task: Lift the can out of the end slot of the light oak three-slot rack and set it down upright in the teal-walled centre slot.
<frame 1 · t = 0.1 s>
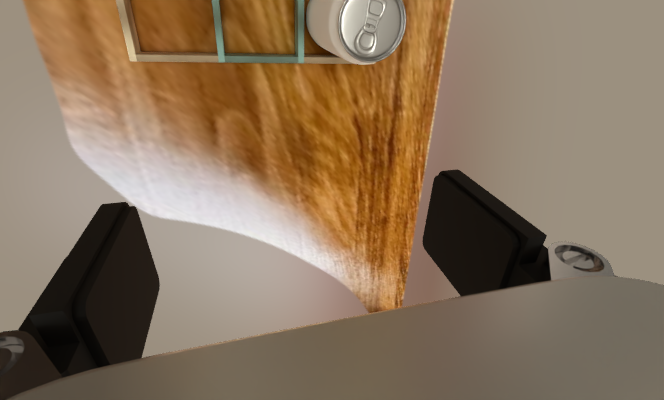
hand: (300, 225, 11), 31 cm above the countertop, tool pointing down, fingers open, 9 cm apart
can: (334, 17, 37), resting in slot rack
slot rack: (258, 14, 35), on the countertop
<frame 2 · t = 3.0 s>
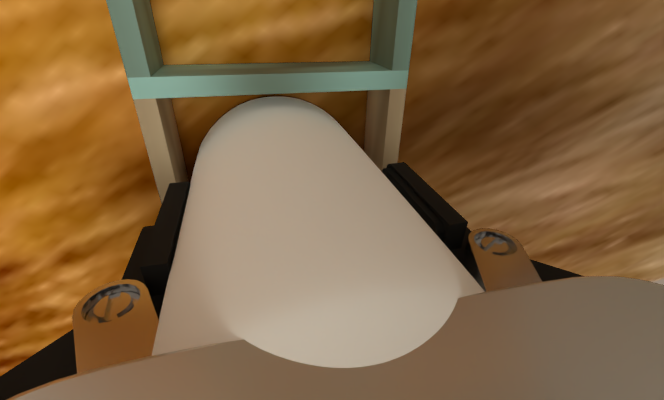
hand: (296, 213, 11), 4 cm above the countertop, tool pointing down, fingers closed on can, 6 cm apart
can: (277, 168, 15), resting in slot rack, touching gripper
when the fingers open (5 cm above the countertop, at t = 8.0 s): can moves 1 cm, resting in slot rack.
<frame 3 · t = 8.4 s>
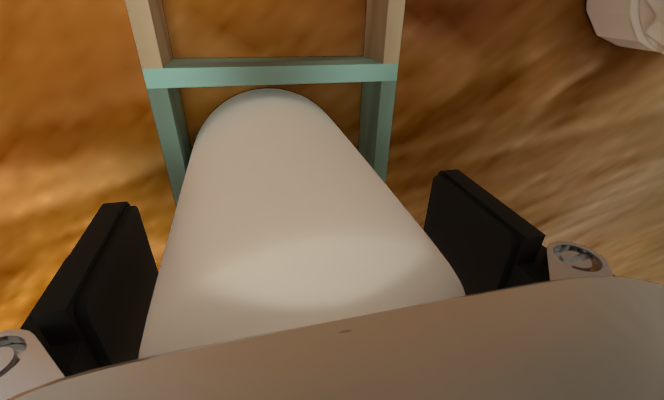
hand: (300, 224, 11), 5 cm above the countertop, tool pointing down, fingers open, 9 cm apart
can: (270, 157, 16), resting in slot rack
slot rack: (280, 158, 15), on the countertop
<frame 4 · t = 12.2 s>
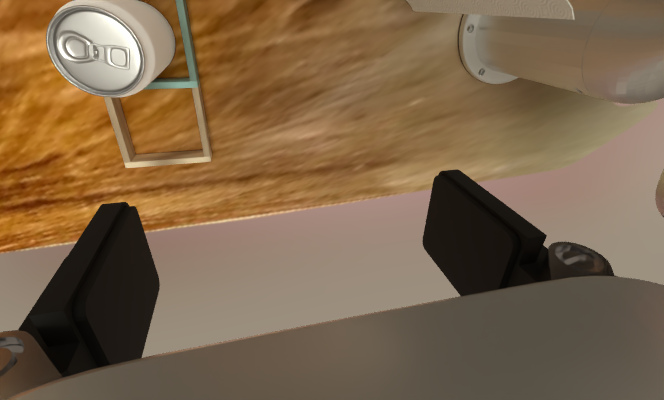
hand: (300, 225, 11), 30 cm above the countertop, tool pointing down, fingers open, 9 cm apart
can: (140, 37, 33), resting in slot rack
slot rack: (144, 38, 33), on the countertop
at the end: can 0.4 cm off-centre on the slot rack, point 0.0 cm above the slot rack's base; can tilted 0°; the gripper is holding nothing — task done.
